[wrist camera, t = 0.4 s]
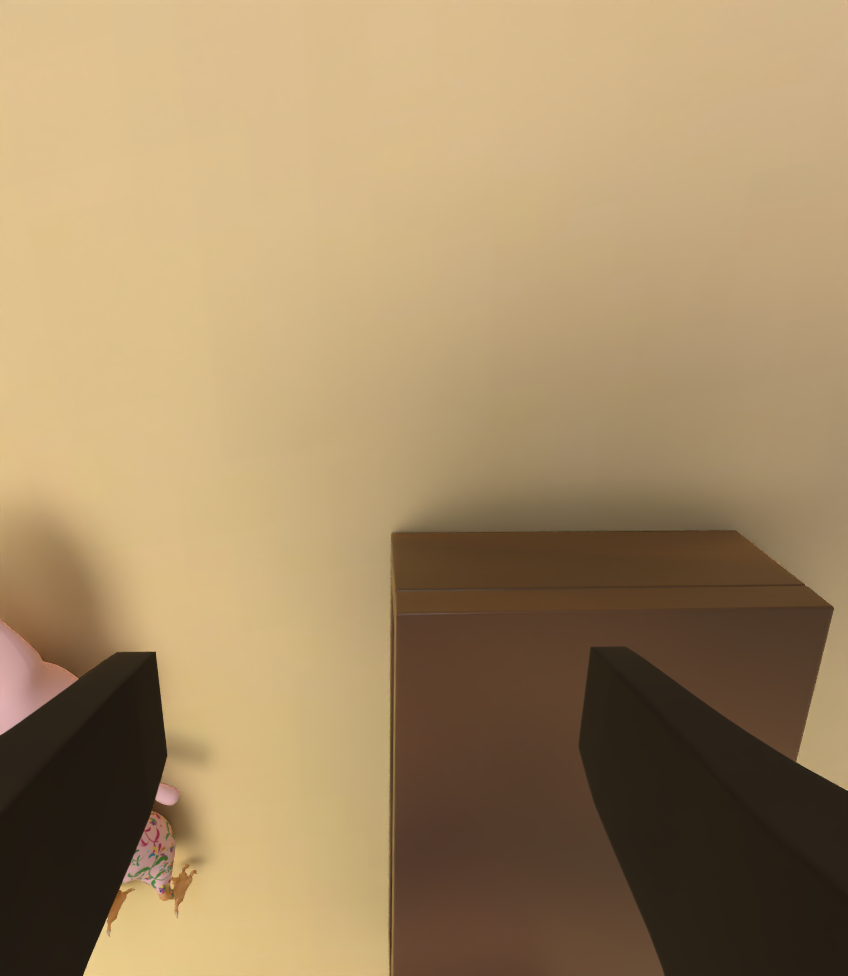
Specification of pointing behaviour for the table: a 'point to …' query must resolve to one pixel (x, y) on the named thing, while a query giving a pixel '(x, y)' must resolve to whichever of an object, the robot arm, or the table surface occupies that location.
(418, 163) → the table surface
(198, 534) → the table surface
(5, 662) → the rabbit figure
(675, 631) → the wooden cubby shelf
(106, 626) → the table surface
